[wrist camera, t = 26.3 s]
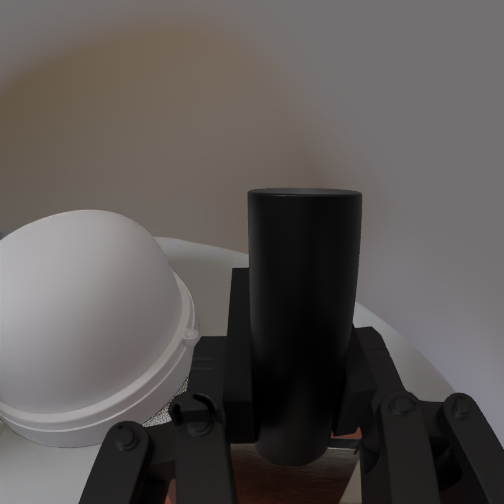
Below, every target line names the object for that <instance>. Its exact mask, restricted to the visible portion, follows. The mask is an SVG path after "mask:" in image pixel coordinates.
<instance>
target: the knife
mask: <svg viewBox="0 0 504 504" xmlns="http://www.w3.org/2000/svg"><path fill="white" fill-rule="evenodd" d="M361 219H362V193H360V192H357V191H350V190H340V189H322V188H267V189H254V190H250V191H248V237H249V283H250V325H251V364H252V386H253V409H254V431H255V444H231V456H232V463H233V470H234V477H235V484H236V491H237V498H238V504H339V503H340V501H341V499H342V497H343V495H344V493H345V491H346V488H347V486H348V484H349V482H350V480H351V477H352V475H353V473H354V471H355V468H356V466H357V463H358V461H359V451H358V453H357V454H356V455H353V453H354V451H355V447H356V445H357V444H358V442H359V440H360V439H357V438H335V437H331V434H332V430H333V426H334V422H335V417H336V413H337V408H338V404H339V399H340V394H341V389H342V384H343V379H344V373H345V368H346V362H347V356H348V350H349V343H350V336H351V329H352V322H353V314H354V306H355V298H356V287H357V278H358V266H359V254H360V239H361Z"/></svg>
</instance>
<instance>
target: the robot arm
mask: <svg viewBox="0 0 504 504" xmlns="http://www.w3.org/2000/svg"><path fill="white" fill-rule="evenodd" d="M190 368H191V370H190V373H189V379H188V385H187V391H186V392H183V393H181V394H179V395H177V396H176V397H175V398H174V399H173V400H172V401H171V403H170V405H169V409H168V413H169V415H170V417H171V419H172V420H171V421H170V422H167V423H164V424H160V425H154V426H149V427H143V426H142V425H141V424H139V423H137V422H135V421H126V420H125V421H122V422H118V423H116V424H115V425H113V426H112V427H111V428H110V429H109V431H108V432H107V434H106V436H105V438H104V441H103V443H102V445H101V448H100V450H99V453H98V455H97V457H96V460H95V462H94V465H93V467H92V470H91V472H90V475H89V477H88V480H87V483H86V485H85V488H84V490H83V493H82V496H81V498H80V501H79V504H165V501H166V497H167V493H168V490H169V486H170V482H171V480H173V479H176V503H177V504H238V498H237V491H236V484H235V477H234V470H233V463H232V456H231V444H255V431H254V409H253V386H252V364H251V325H250V283H249V268H232V280H231V292H230V304H229V316H228V329H227V336H202V337H201V338H200V340H199V341H198V342H197V344H196V345H195V346H194V351H193V356H192V362H191V367H190ZM358 427H359V428H360V431H361V435H362V437H361V439H360V440H359V442H358V444H357V445H356V447H355V451H354V453H353V455H356V454H357V453H358V451H359V459H360V475H361V498H362V504H504V449H503V447H502V446H501V444H500V442H499V440H498V439H497V437H496V435H495V433H494V432H493V430H492V428H491V427H490V425H489V423H488V422H487V420H486V418H485V417H484V415H483V413H482V412H481V410H480V409H479V407H478V405H477V404H476V402H475V401H474V400H473V399H472V398H471V397H470V396H468V395H467V394H464V393H454V394H451V395H450V396H449V397H447V399H446V400H445V401H444V402H428V401H421V400H418V398H417V397H416V396H415V395H413V394H412V393H411V392H408V391H406V390H405V388H404V386H403V384H402V381H401V379H400V377H399V374H398V372H397V370H396V367H395V365H394V363H393V360H392V358H391V356H390V354H389V352H388V349H387V348H386V345H385V343H384V341H383V338H382V336H381V335H380V334H379V333H378V332H377V331H376V330H375V329H374V328H373V327H372V326H370V327H361V328H355V327H354V325H353V322H352V329H351V336H350V343H349V350H348V356H347V362H346V368H345V373H344V379H343V384H342V389H341V394H340V399H339V404H338V408H337V413H336V417H335V422H334V426H333V430H332V432H333V437H336V436H343V435H349V434H355V433H356V431H357V429H358Z"/></svg>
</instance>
